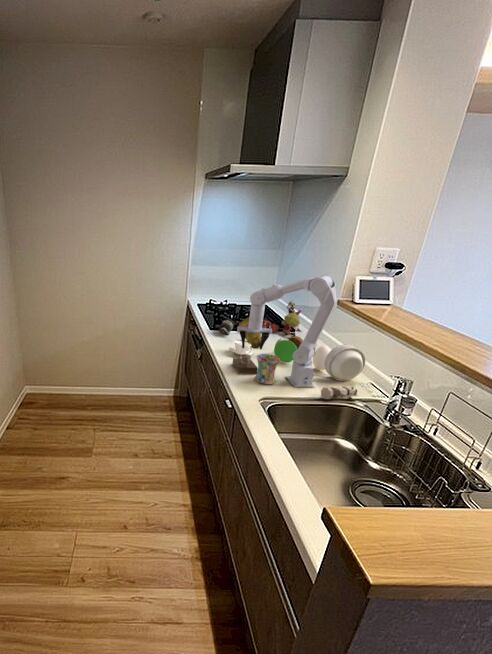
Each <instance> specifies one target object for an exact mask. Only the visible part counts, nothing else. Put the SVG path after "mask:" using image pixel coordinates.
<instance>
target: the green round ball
mask: <svg viewBox="0 0 492 654" xmlns="http://www.w3.org/2000/svg"><path fill="white" fill-rule="evenodd" d="M292 336H293V335H286V336H285V335H283V337H281V338H279V339H278V340H277V341H276V343H275V344H274V349H273V354H274V355H275V356H277V357H279V358H280V361H279V362H282V363H290V362H292V361H293V360H294V359H293V353H294V352H295V351H296V350H297V349H298V348H299V346H300V345H301V343H302V342H303V340H304V339H302V338H301V337H300V336H296V335H295V336H294V337H292ZM290 337H291V338H290ZM280 340H281V341H280Z"/></svg>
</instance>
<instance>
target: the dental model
mask: <svg viewBox="0 0 492 654" xmlns="http://www.w3.org/2000/svg"><path fill="white" fill-rule="evenodd" d="M262 328H268V329H272V333H278V332H279V329H280V325H278V324H275V323H272V322H271V321H268V320H265V319H263V323H262Z"/></svg>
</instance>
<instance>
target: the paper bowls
mask: <svg viewBox="0 0 492 654" xmlns="http://www.w3.org/2000/svg"><path fill="white" fill-rule="evenodd" d="M330 350H331V351H330V352H329V353H328V355H327V356H326V358H325V362H324V366H325V369H324V370H325V371H326V373H327V374H328V375H329V376H330V377H331V378H333V379H334V380H336V381H340V382H346V381H349V380H353V379H354V378H356V377H357V376H359V375H360V374H361V373H362V371H363V369H364V368H365V365H366V356H365V355H364V353H363V352H362V351H361V350H360V349H359V348H357V347H356V346H355V345H353V344H346V343H345V344H340V345H338V346H335V347H334V348H332V349H330Z"/></svg>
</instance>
